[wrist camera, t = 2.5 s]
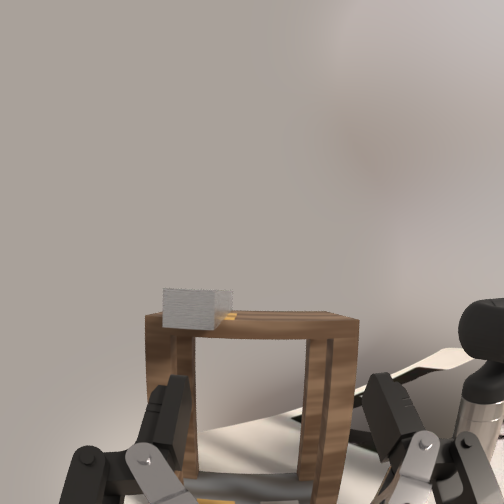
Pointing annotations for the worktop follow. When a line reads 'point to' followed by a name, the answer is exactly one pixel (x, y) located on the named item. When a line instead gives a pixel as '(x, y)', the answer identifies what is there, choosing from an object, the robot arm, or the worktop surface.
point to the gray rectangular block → (195, 308)
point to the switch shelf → (313, 414)
